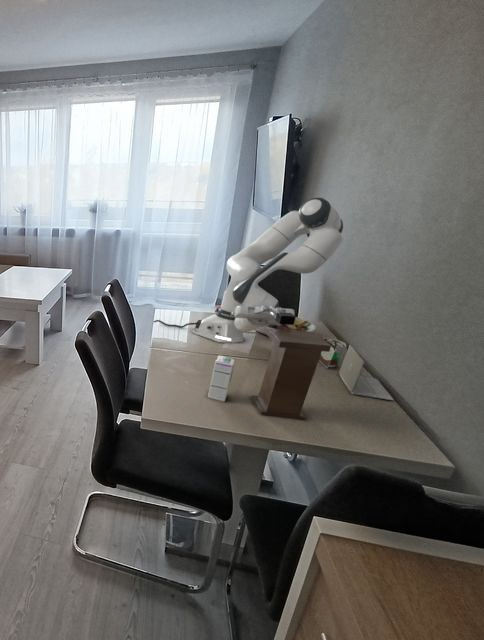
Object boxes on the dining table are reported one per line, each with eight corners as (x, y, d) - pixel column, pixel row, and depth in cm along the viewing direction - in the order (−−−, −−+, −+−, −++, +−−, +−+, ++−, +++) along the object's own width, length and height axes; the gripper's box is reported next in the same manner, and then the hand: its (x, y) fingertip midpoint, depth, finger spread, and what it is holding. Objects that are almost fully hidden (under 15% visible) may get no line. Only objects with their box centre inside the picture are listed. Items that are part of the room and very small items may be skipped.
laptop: (393, 401, 146) (408, 368, 141) (350, 394, 150) (363, 361, 145) (376, 380, 161) (389, 349, 156) (338, 374, 166) (349, 344, 160)
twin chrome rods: (261, 308, 157) (263, 300, 156) (274, 309, 156) (276, 301, 155) (279, 323, 141) (281, 315, 139) (293, 325, 140) (296, 316, 139)
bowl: (244, 317, 229) (248, 303, 226) (308, 326, 217) (312, 312, 214) (245, 334, 204) (249, 319, 201) (317, 346, 193) (322, 330, 189)
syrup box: (224, 402, 143) (234, 364, 137) (206, 397, 146) (215, 360, 140) (227, 395, 148) (236, 358, 142) (209, 390, 150) (218, 354, 145)
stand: (248, 396, 148) (267, 328, 137) (290, 400, 145) (313, 331, 135) (259, 414, 136) (281, 341, 126) (306, 420, 134) (332, 346, 123)
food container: (345, 371, 168) (354, 349, 164) (329, 370, 169) (337, 347, 165) (331, 359, 179) (338, 337, 175) (315, 357, 180) (322, 336, 176)
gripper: (229, 306, 168) (242, 298, 155) (284, 310, 165) (302, 302, 151) (228, 321, 168) (241, 315, 154) (283, 326, 164) (301, 319, 151)
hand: (272, 308), depth 153 cm, fingers closed on twin chrome rods, 3 cm apart
